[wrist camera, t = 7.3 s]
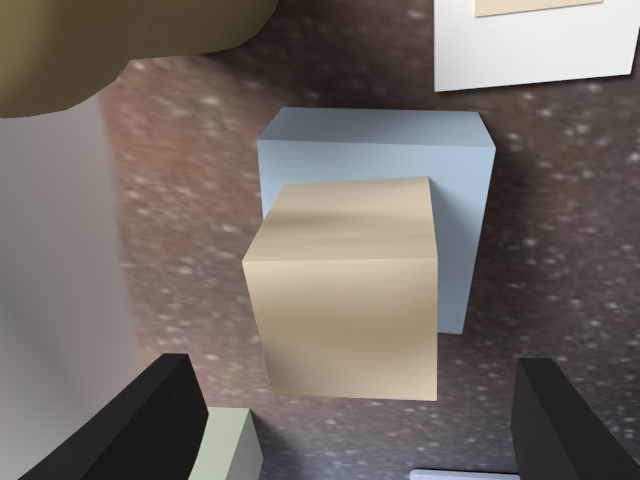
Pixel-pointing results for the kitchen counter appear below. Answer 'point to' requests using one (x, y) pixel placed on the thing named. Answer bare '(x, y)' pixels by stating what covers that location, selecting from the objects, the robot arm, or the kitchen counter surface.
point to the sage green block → (228, 447)
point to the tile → (531, 41)
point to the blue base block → (394, 174)
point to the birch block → (348, 289)
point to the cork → (106, 43)
